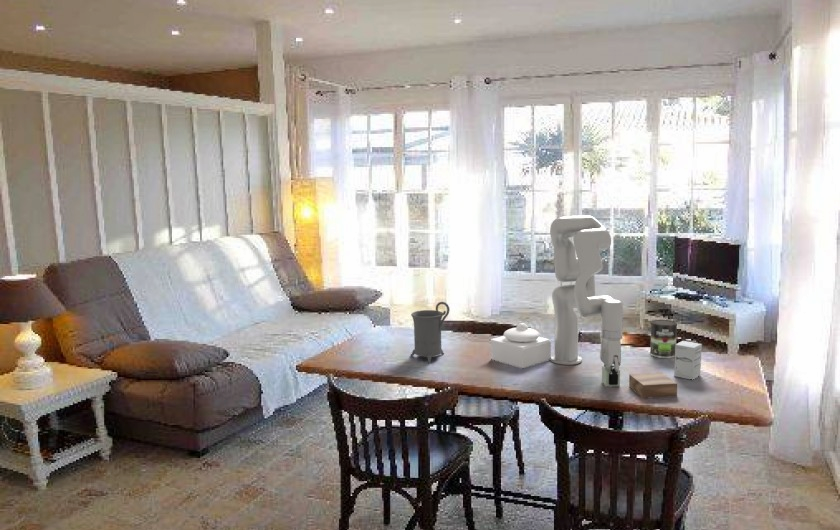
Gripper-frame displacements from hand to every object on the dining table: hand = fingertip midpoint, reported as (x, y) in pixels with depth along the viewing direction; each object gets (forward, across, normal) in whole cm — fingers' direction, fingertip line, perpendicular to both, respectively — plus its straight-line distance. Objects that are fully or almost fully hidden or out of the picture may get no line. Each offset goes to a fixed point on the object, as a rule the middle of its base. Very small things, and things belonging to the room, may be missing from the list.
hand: (610, 381), depth 233 cm
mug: (+1, -40, -65) cm, 76 cm away
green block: (+1, 0, 0) cm, 1 cm away
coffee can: (+1, -34, +33) cm, 47 cm away
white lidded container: (+1, -34, -27) cm, 43 cm away
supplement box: (+1, -6, +31) cm, 32 cm away
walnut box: (+1, +9, +12) cm, 15 cm away
